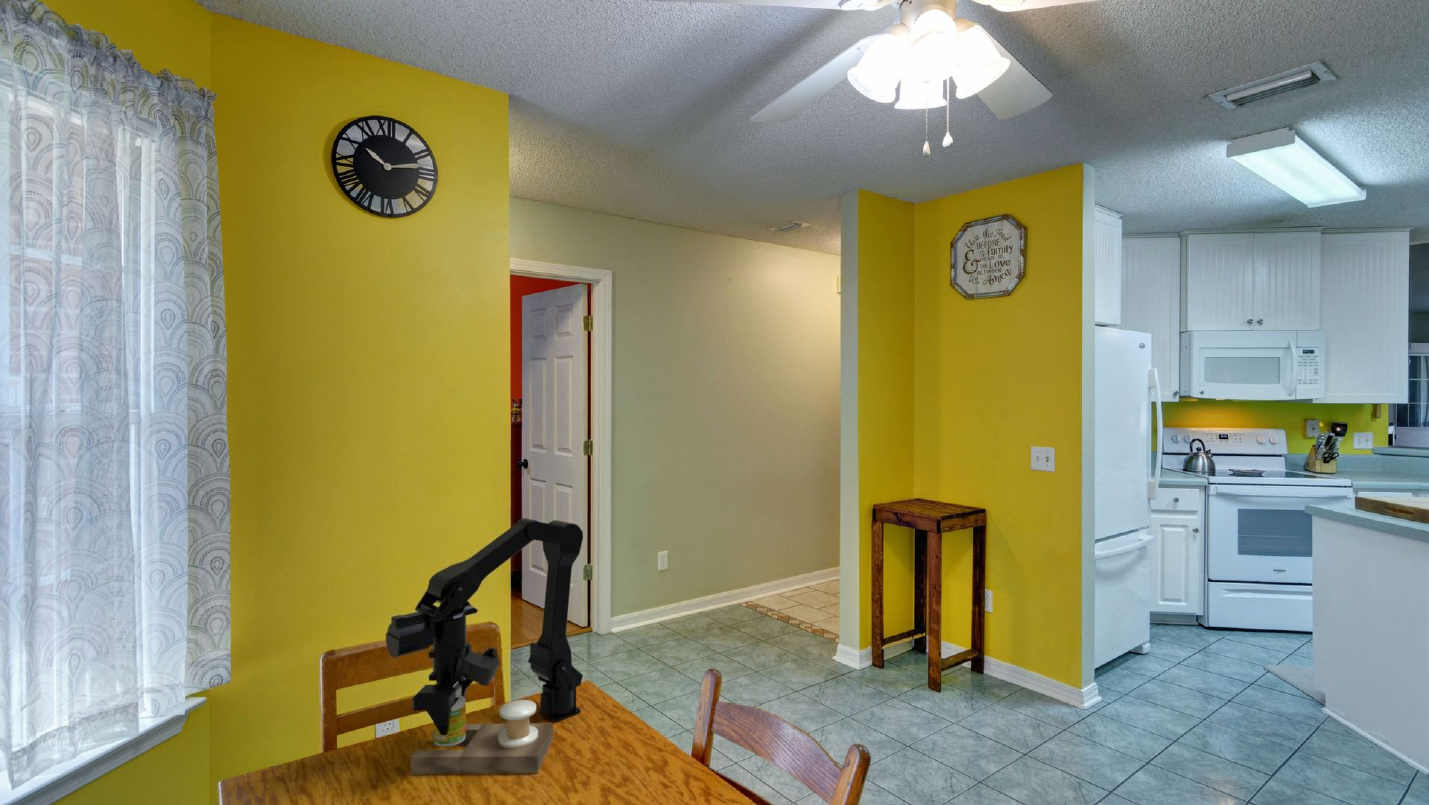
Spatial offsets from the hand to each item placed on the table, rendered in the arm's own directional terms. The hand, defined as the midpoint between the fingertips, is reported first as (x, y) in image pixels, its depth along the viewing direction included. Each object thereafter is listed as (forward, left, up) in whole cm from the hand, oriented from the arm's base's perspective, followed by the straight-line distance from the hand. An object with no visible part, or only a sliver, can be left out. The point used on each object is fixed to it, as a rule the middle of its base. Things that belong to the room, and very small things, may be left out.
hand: (450, 727), depth 124 cm
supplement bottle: (0, 0, -3) cm, 3 cm away
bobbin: (-9, +9, -2) cm, 13 cm away
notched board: (-4, +5, -5) cm, 8 cm away
